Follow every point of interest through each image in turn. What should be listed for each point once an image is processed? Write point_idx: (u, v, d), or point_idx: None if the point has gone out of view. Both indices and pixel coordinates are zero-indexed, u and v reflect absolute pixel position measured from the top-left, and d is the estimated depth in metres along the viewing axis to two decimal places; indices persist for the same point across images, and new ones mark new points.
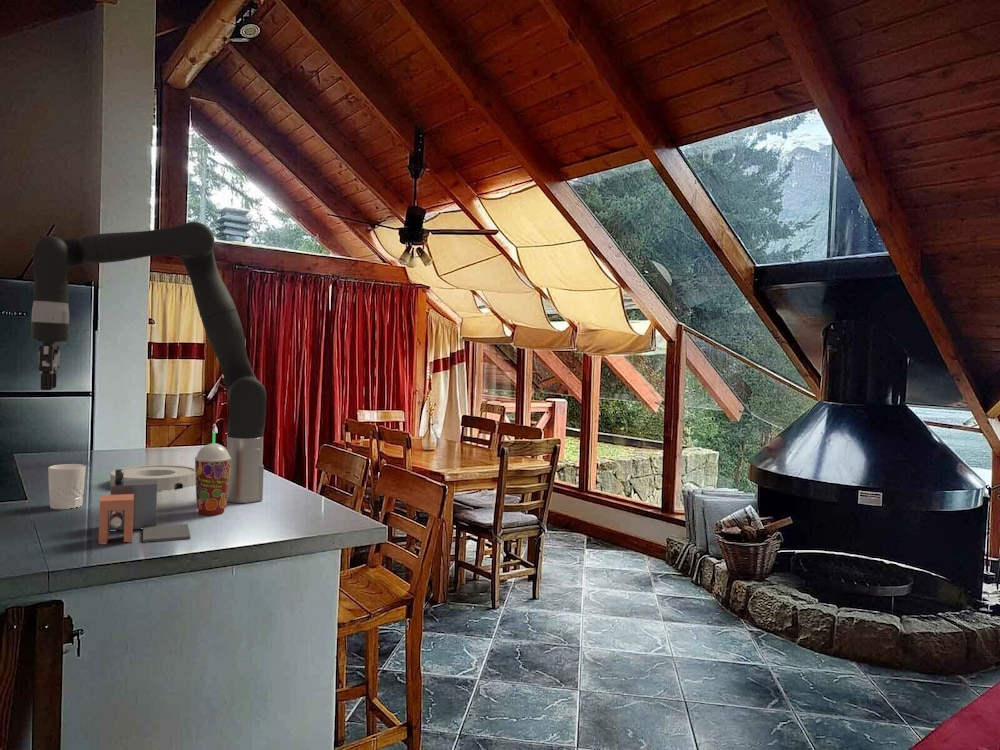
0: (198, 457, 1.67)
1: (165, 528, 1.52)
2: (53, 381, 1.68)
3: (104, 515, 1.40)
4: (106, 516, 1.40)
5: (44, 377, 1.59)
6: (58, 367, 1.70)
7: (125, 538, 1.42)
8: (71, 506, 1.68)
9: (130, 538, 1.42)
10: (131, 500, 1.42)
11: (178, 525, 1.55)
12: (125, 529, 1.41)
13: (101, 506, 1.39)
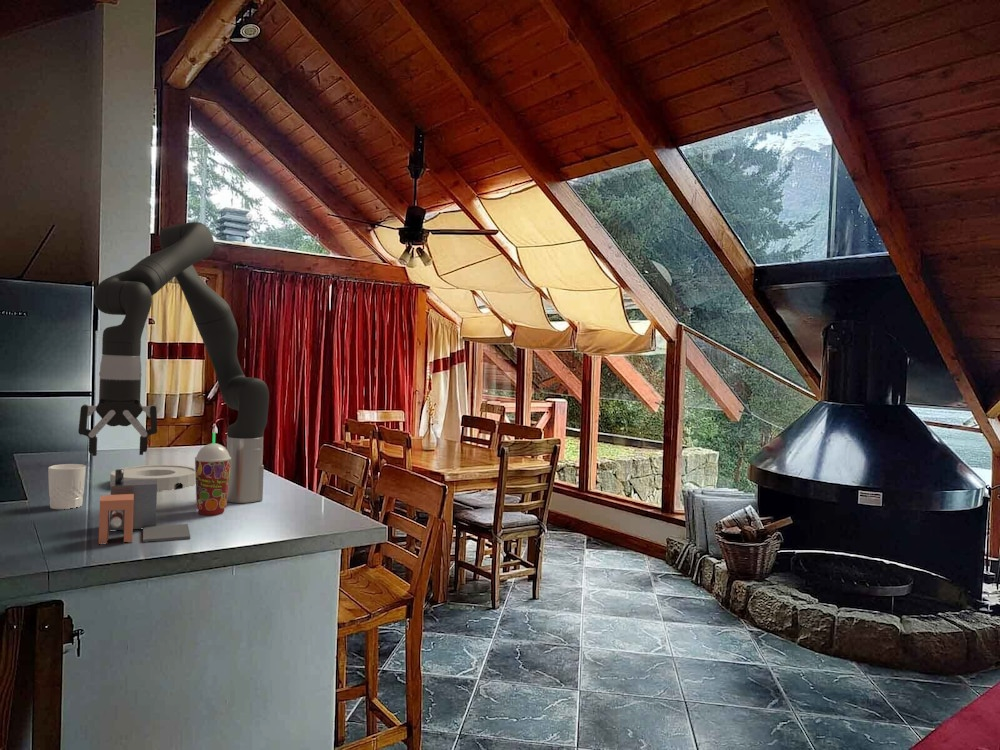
0: (198, 457, 1.67)
1: (165, 528, 1.52)
2: None
3: (104, 515, 1.40)
4: (106, 516, 1.40)
5: None
6: None
7: (125, 538, 1.42)
8: (71, 506, 1.68)
9: (130, 538, 1.42)
10: (131, 500, 1.42)
11: (178, 525, 1.55)
12: (125, 529, 1.41)
13: (101, 506, 1.39)
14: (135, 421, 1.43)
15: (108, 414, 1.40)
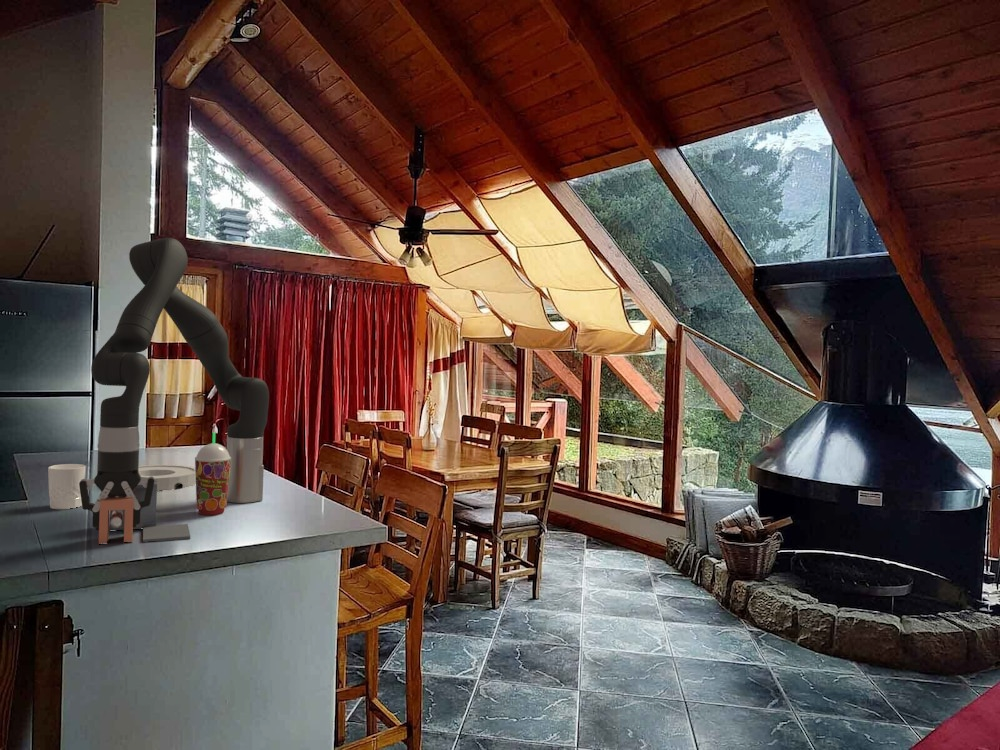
0: (198, 457, 1.67)
1: (165, 528, 1.52)
2: None
3: (104, 514, 1.40)
4: (106, 516, 1.40)
5: None
6: None
7: (125, 538, 1.41)
8: (71, 506, 1.68)
9: (130, 538, 1.42)
10: (131, 500, 1.42)
11: (178, 525, 1.55)
12: (125, 529, 1.41)
13: (101, 506, 1.39)
14: (131, 493, 1.43)
15: (107, 486, 1.40)
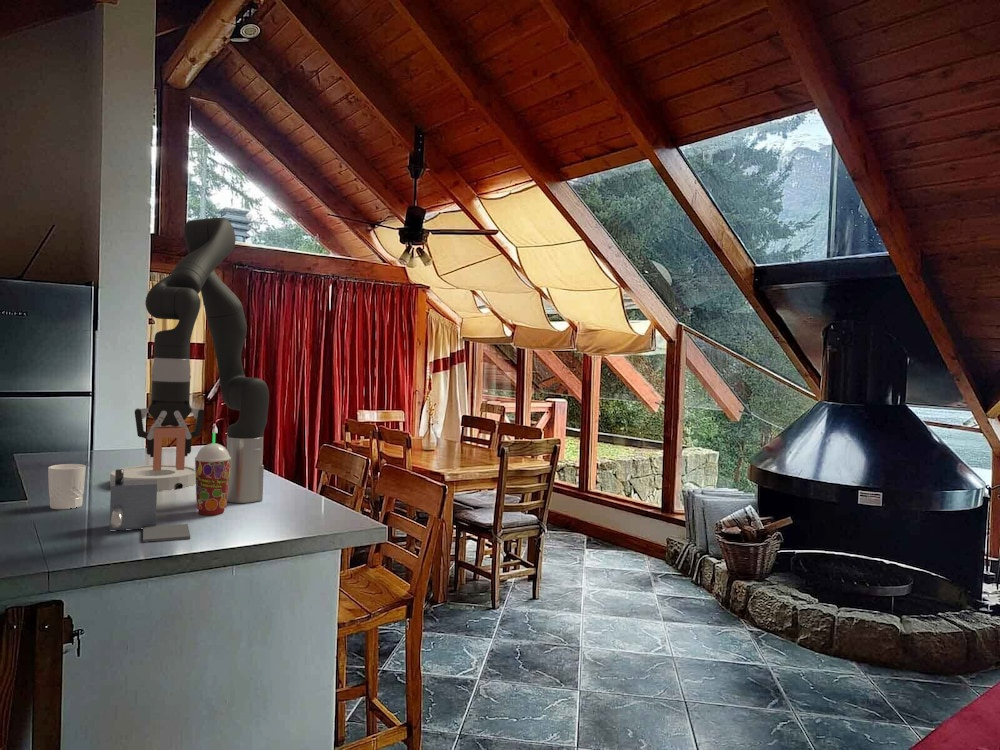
0: (198, 457, 1.67)
1: (165, 528, 1.52)
2: None
3: (158, 441, 1.45)
4: (160, 443, 1.46)
5: None
6: None
7: (178, 465, 1.47)
8: (71, 506, 1.68)
9: (182, 465, 1.48)
10: (183, 429, 1.48)
11: (178, 525, 1.55)
12: (178, 456, 1.47)
13: (156, 433, 1.45)
14: (183, 423, 1.49)
15: (160, 415, 1.46)
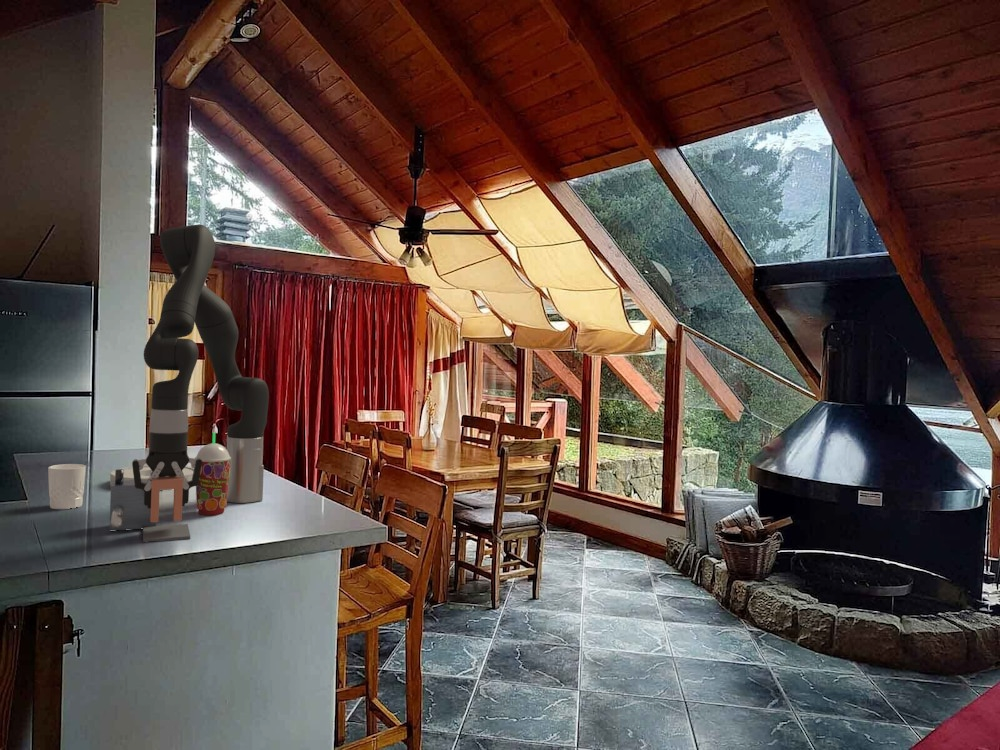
0: (198, 457, 1.67)
1: (165, 528, 1.52)
2: None
3: (155, 493, 1.46)
4: (158, 494, 1.46)
5: None
6: None
7: (175, 516, 1.47)
8: (71, 506, 1.68)
9: (180, 516, 1.48)
10: (181, 479, 1.48)
11: (178, 525, 1.55)
12: (175, 507, 1.47)
13: (153, 485, 1.45)
14: (180, 473, 1.49)
15: (158, 466, 1.47)
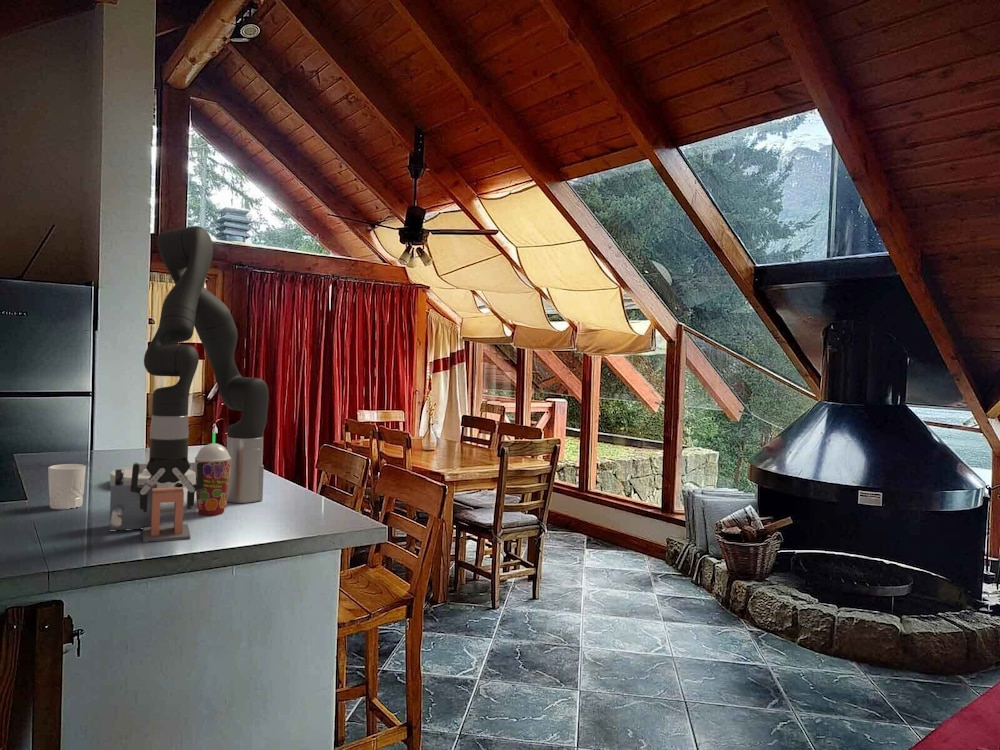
0: (198, 457, 1.67)
1: (165, 528, 1.52)
2: None
3: (156, 506, 1.46)
4: (158, 508, 1.46)
5: None
6: None
7: (176, 529, 1.48)
8: (71, 506, 1.68)
9: (181, 529, 1.48)
10: (182, 493, 1.48)
11: None
12: (176, 520, 1.48)
13: (154, 498, 1.45)
14: (183, 478, 1.49)
15: (158, 472, 1.47)
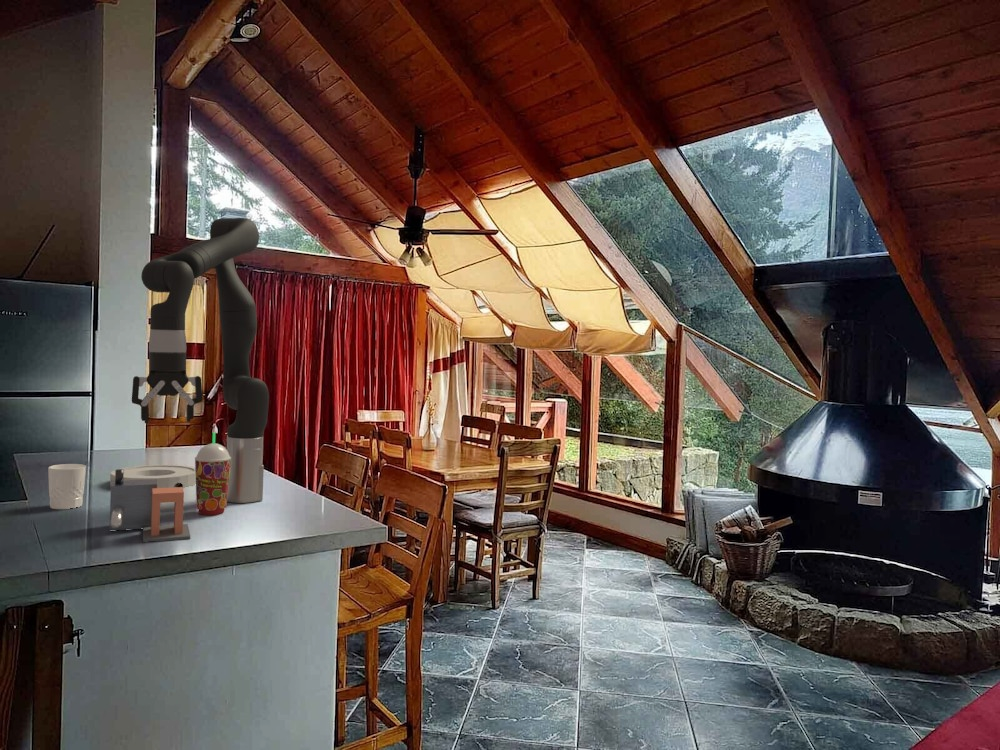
0: (198, 457, 1.67)
1: (165, 528, 1.52)
2: None
3: (156, 506, 1.46)
4: (158, 508, 1.46)
5: None
6: None
7: (176, 529, 1.48)
8: (71, 506, 1.68)
9: (181, 529, 1.48)
10: (182, 493, 1.48)
11: None
12: (176, 520, 1.48)
13: (154, 498, 1.45)
14: (182, 391, 1.54)
15: (158, 384, 1.52)
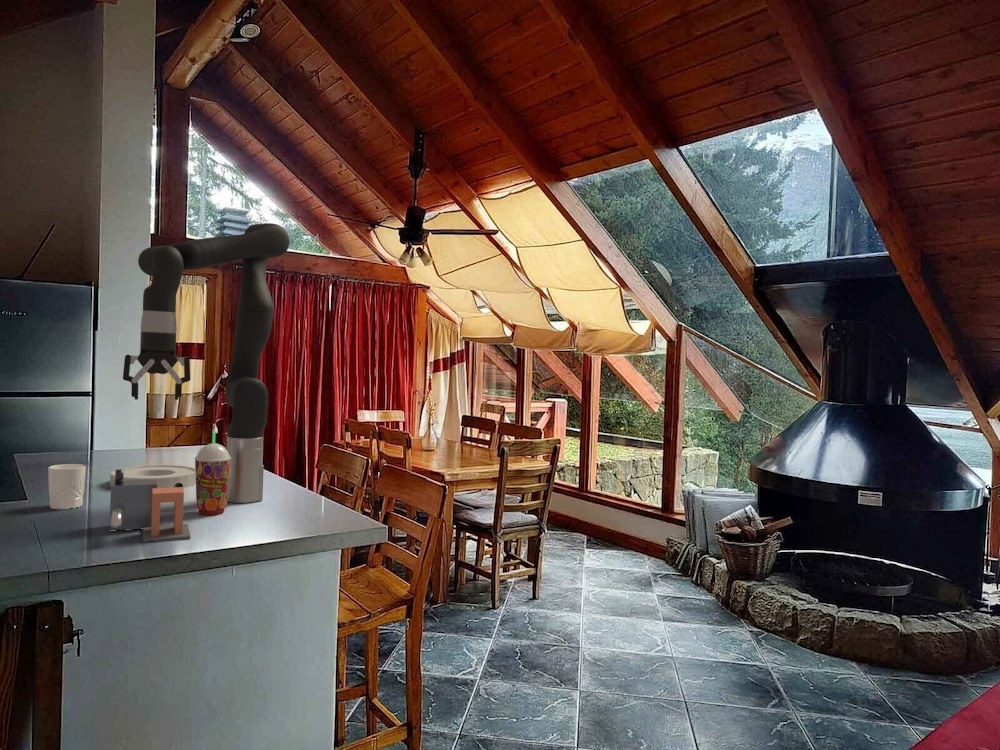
0: (198, 457, 1.67)
1: (165, 528, 1.52)
2: None
3: (156, 506, 1.46)
4: (158, 508, 1.46)
5: None
6: None
7: (176, 529, 1.48)
8: (71, 506, 1.68)
9: (181, 529, 1.48)
10: (182, 493, 1.48)
11: None
12: (176, 520, 1.48)
13: (154, 498, 1.45)
14: (171, 370, 1.62)
15: (148, 363, 1.60)
